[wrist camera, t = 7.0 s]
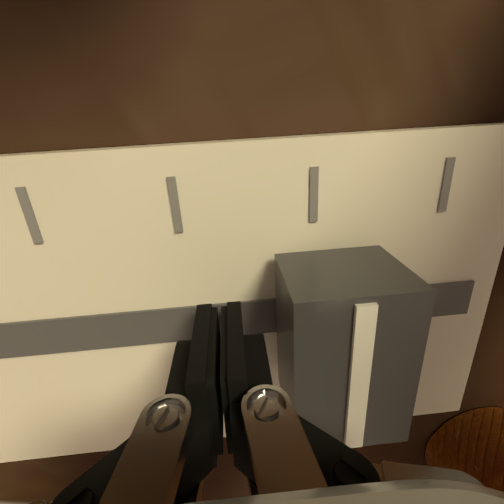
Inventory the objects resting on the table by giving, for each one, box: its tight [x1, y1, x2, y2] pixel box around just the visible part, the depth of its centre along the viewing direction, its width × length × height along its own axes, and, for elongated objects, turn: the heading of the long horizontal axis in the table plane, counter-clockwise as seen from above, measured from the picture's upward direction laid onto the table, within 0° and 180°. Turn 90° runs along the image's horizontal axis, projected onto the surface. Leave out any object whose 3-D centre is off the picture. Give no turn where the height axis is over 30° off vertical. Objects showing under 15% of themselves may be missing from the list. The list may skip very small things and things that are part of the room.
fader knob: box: [274, 245, 437, 448], centre depth 11 cm, size 4×6×4 cm, turn 3°
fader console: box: [0, 122, 504, 463], centre depth 14 cm, size 26×14×2 cm, turn 93°
